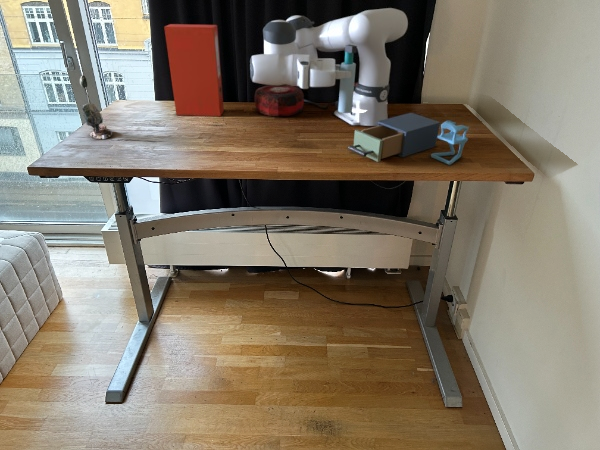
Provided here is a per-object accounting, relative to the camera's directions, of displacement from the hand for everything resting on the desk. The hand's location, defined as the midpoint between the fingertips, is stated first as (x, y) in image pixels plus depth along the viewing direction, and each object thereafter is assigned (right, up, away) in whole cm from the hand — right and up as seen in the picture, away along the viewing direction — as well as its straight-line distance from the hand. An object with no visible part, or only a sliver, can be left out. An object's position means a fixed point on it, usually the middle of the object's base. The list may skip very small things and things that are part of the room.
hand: (350, 72), depth 127 cm
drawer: (+10, -21, +12) cm, 27 cm away
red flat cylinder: (-23, +2, +51) cm, 56 cm away
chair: (+32, -24, +11) cm, 42 cm away
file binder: (-55, 0, +47) cm, 72 cm away
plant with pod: (-84, -14, +23) cm, 88 cm away
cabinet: (+21, -18, +20) cm, 34 cm away
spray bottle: (-1, -10, +6) cm, 12 cm away
